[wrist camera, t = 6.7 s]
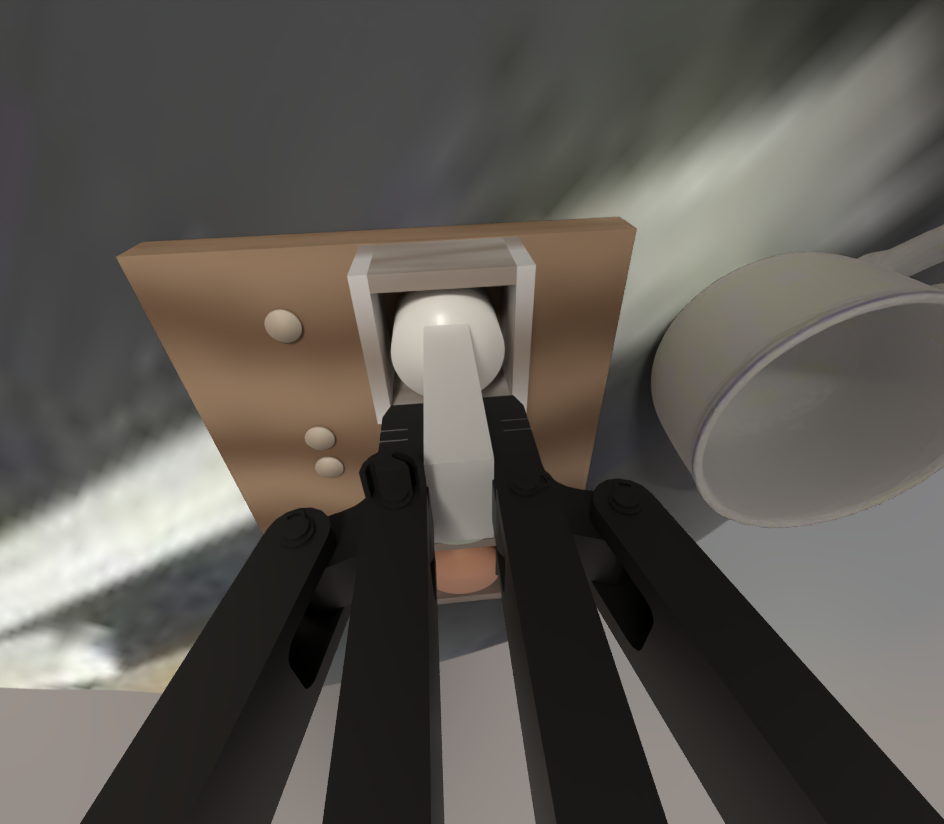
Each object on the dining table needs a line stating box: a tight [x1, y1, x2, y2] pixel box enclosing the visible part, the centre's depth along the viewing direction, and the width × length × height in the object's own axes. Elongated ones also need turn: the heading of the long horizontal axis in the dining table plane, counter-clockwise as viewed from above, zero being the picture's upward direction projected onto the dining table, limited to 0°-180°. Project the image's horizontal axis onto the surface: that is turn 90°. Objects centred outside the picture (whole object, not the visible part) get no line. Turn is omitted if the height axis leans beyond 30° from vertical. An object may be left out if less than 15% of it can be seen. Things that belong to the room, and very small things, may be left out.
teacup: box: [651, 225, 944, 528], centre depth 18 cm, size 14×11×8 cm
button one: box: [391, 287, 505, 396], centre depth 16 cm, size 4×4×3 cm
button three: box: [435, 546, 498, 594], centre depth 25 cm, size 4×4×3 cm
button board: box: [116, 217, 637, 604], centre depth 21 cm, size 20×19×5 cm
